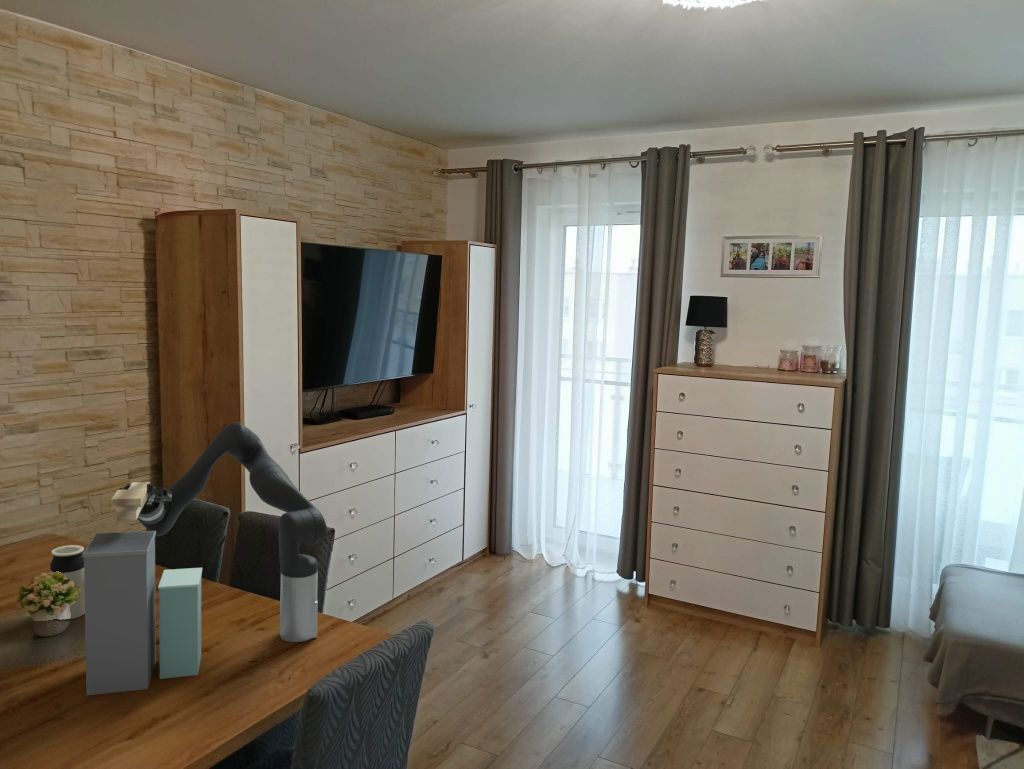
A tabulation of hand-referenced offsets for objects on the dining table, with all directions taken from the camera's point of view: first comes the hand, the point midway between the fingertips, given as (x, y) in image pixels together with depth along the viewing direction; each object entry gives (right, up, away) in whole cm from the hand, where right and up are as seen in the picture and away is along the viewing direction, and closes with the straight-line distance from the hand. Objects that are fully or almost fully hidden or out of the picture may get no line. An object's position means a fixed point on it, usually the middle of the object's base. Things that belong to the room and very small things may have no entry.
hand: (138, 487), depth 184 cm
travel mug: (-26, -36, +15) cm, 47 cm away
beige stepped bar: (+2, -4, -5) cm, 7 cm away
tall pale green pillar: (+14, -41, -8) cm, 44 cm away
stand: (+4, -41, -15) cm, 44 cm away
